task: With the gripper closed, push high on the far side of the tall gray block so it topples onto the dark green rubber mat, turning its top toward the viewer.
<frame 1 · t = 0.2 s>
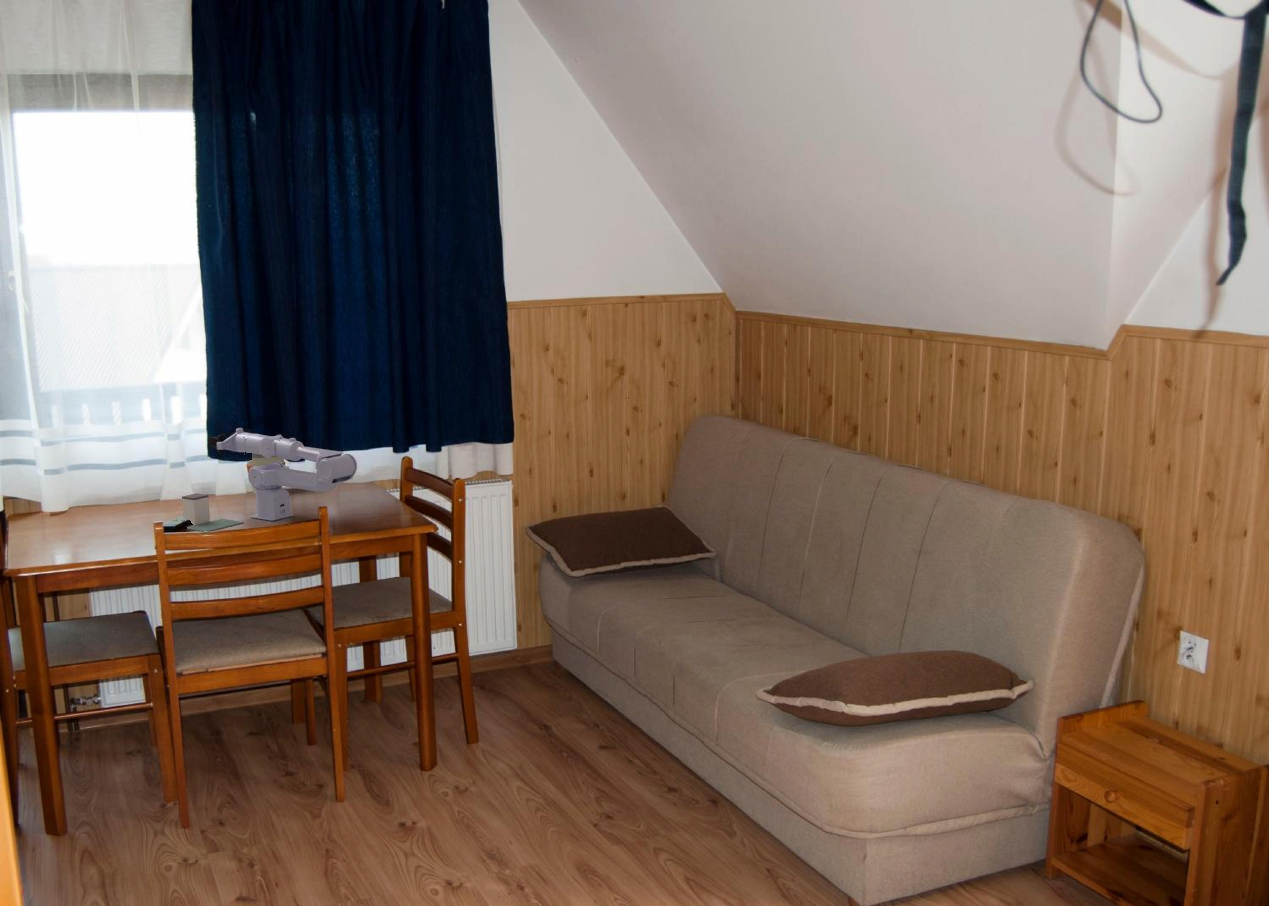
hand: (219, 438, 345), 22 cm above the table, tool horizontal, fingers open, 7 cm apart
gray block: (197, 523, 331), on the table
reusable coffee cup: (267, 492, 375), on the table
dice mat: (214, 525, 327), on the table
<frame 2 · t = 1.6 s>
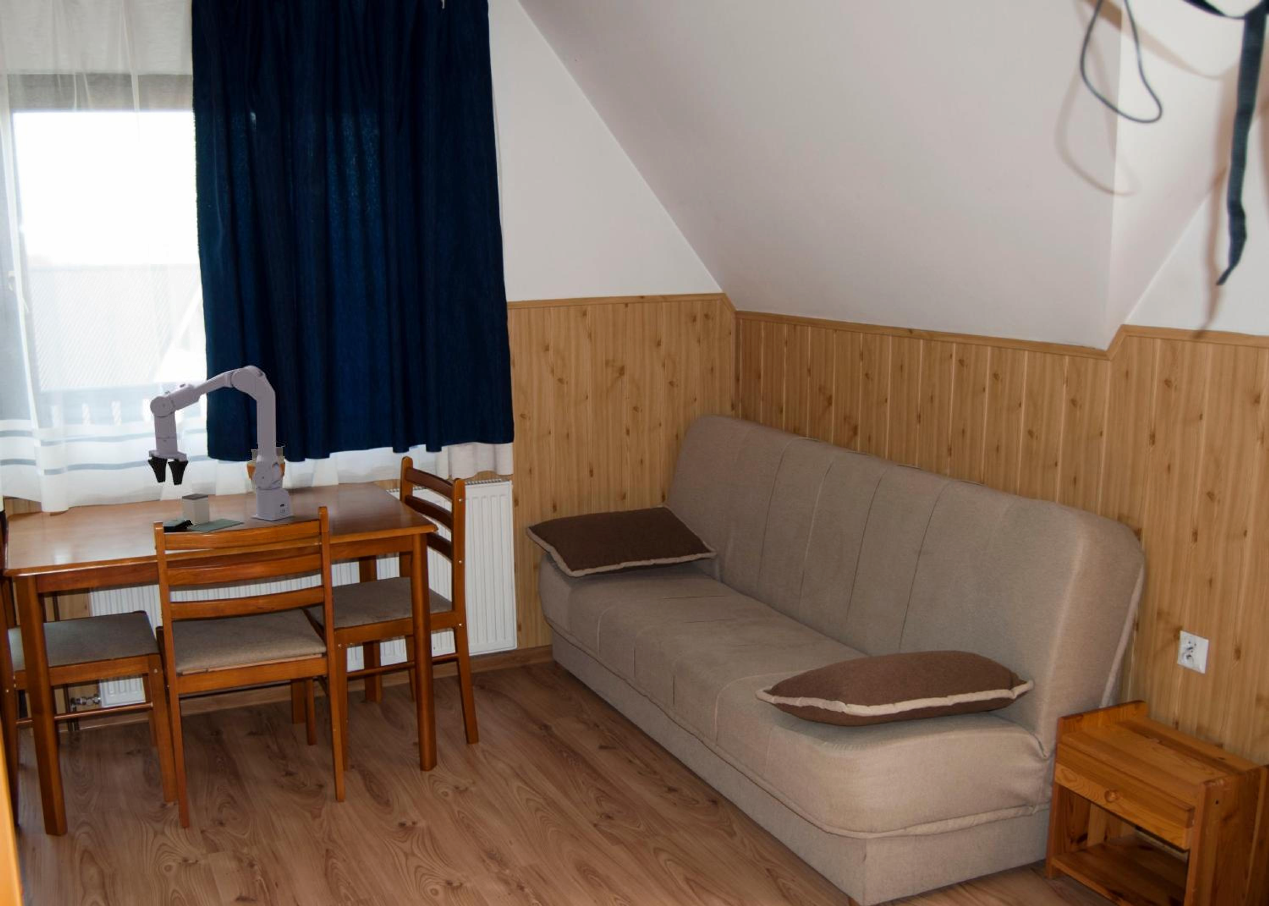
hand: (169, 483, 335), 10 cm above the table, tool pointing down, fingers open, 7 cm apart
nothing on the table moved.
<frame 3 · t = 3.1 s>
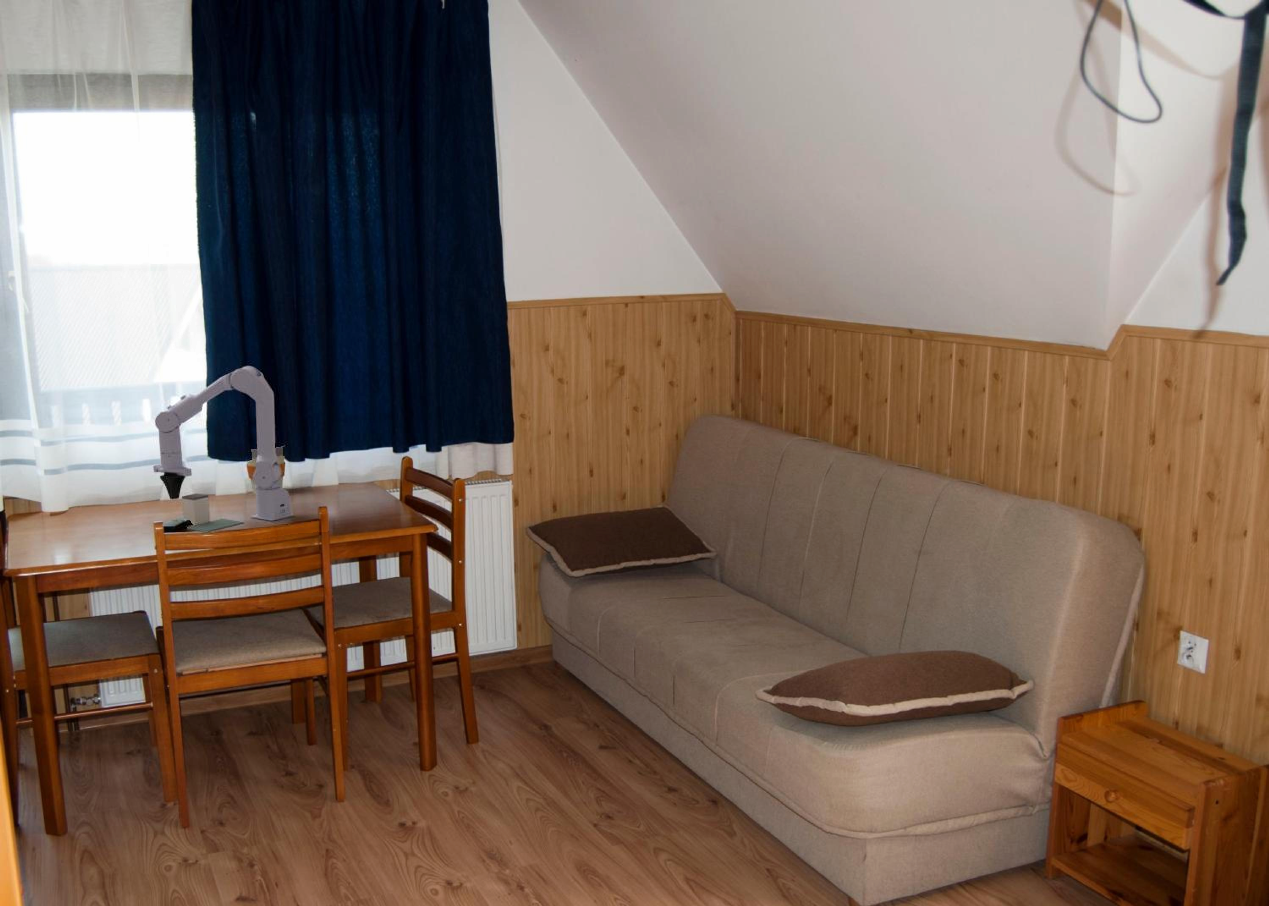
hand: (174, 498, 335), 6 cm above the table, tool pointing down, fingers closed
nothing on the table moved.
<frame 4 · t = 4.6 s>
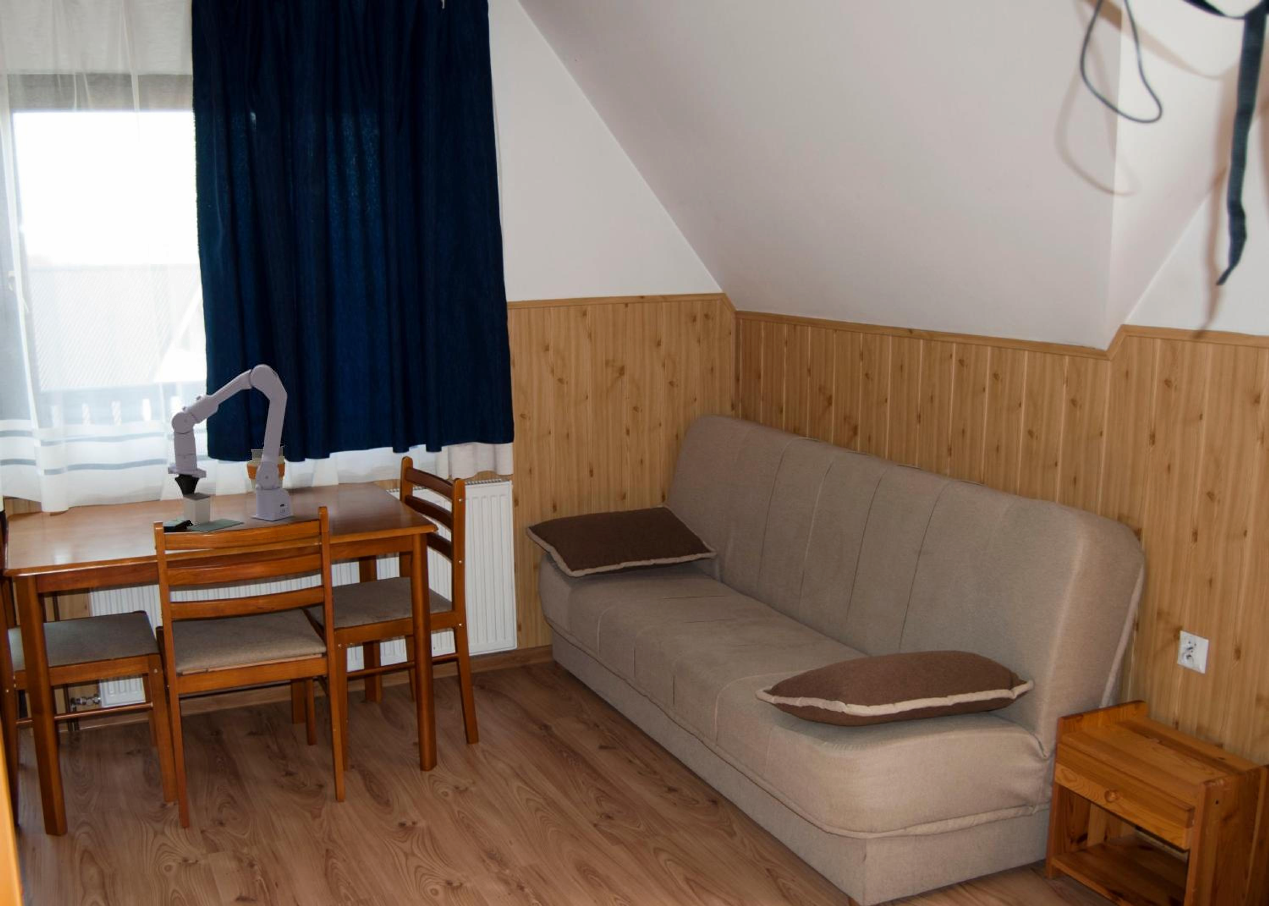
hand: (188, 500, 332), 6 cm above the table, tool pointing down, fingers closed
gray block: (197, 522, 331), on the table, tilted 6°, touching gripper
everything else where it was.
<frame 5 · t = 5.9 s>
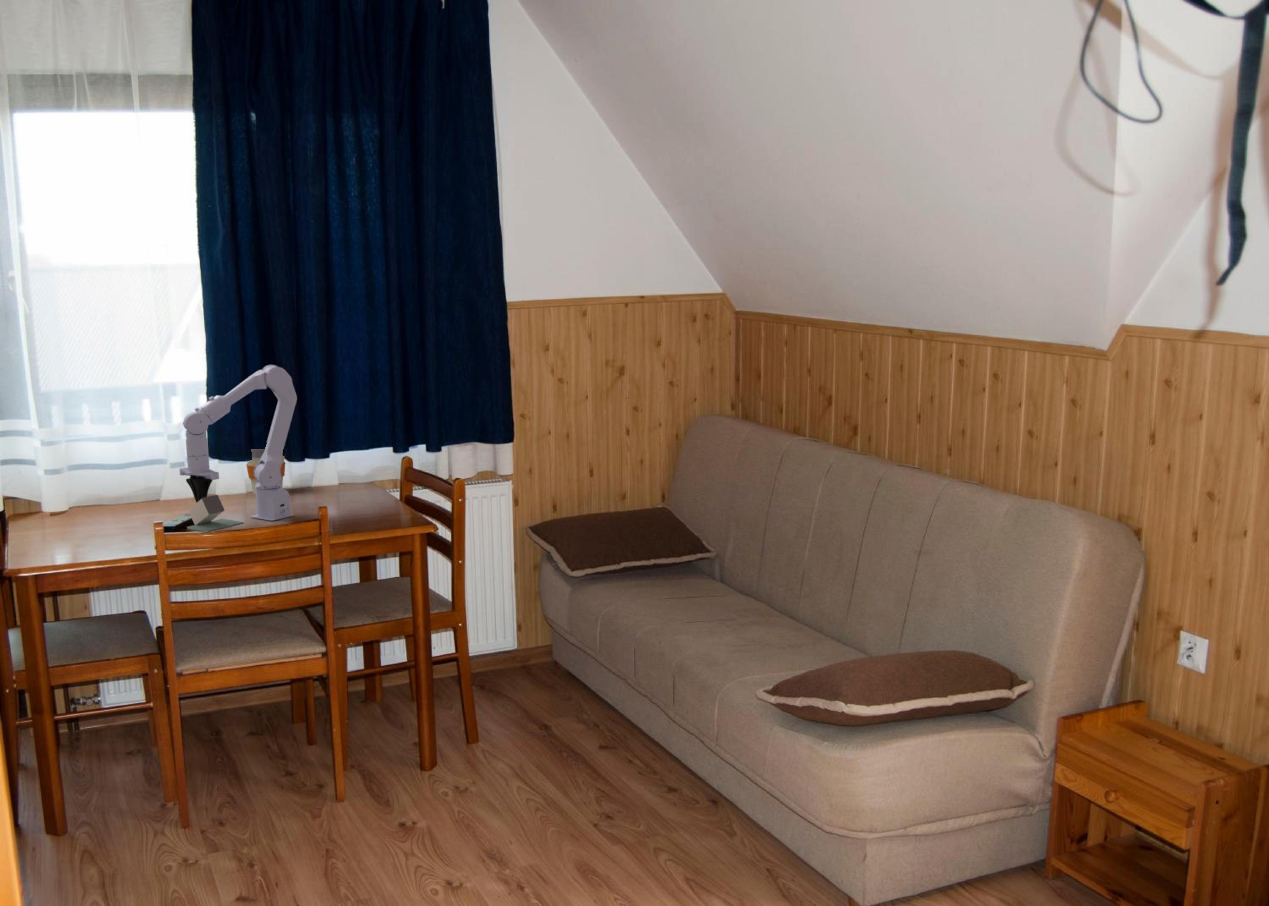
hand: (201, 502, 329), 6 cm above the table, tool pointing down, fingers closed
gray block: (199, 515, 330), point 2 cm above the table, tilted 58°, touching dice mat, gripper
everything else where it was.
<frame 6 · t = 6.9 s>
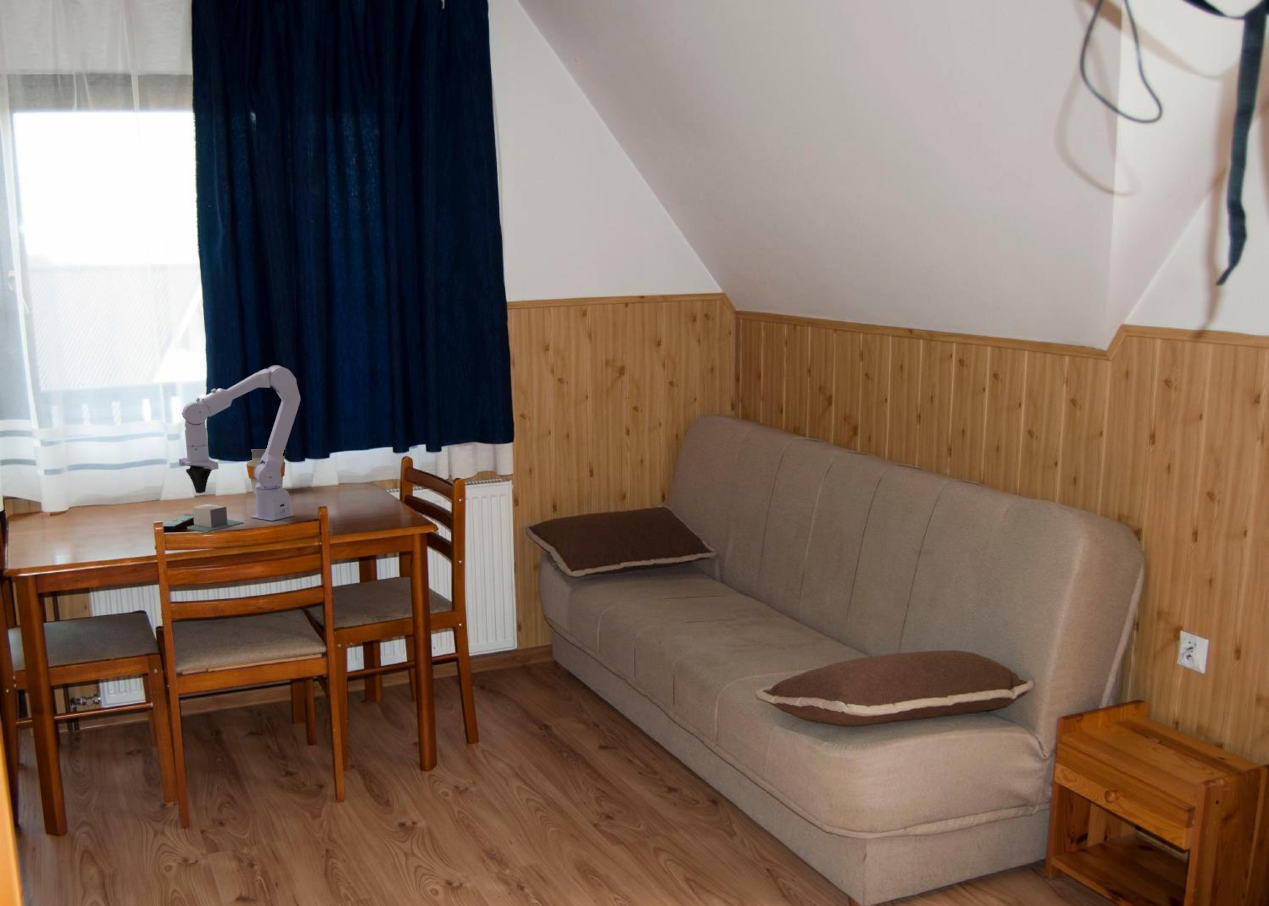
hand: (200, 492, 328), 9 cm above the table, tool pointing down, fingers closed
gray block: (200, 514, 330), point 3 cm above the table, tilted 90°, touching dice mat
everything else where it was.
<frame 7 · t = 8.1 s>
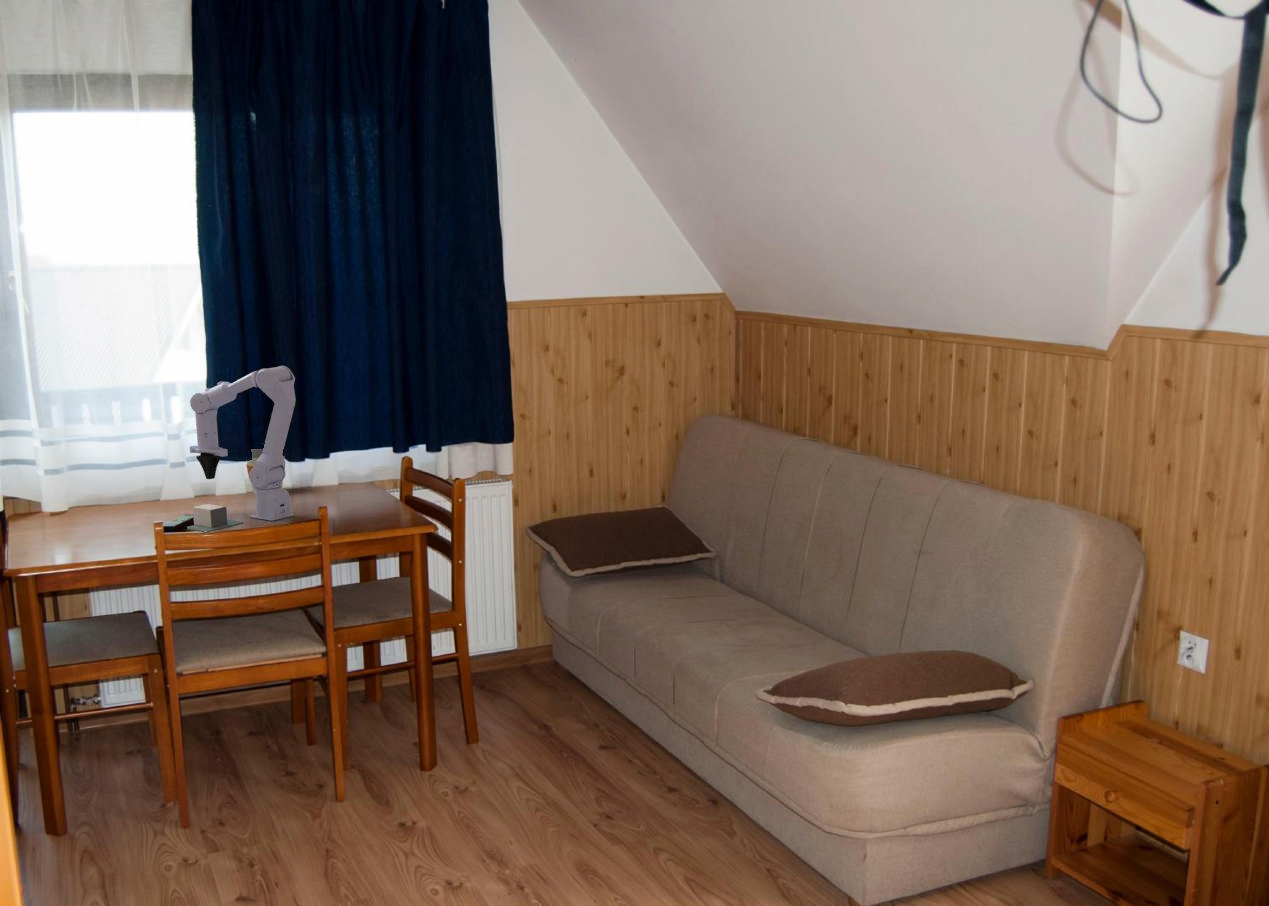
hand: (210, 478, 342), 10 cm above the table, tool pointing down, fingers closed
nothing on the table moved.
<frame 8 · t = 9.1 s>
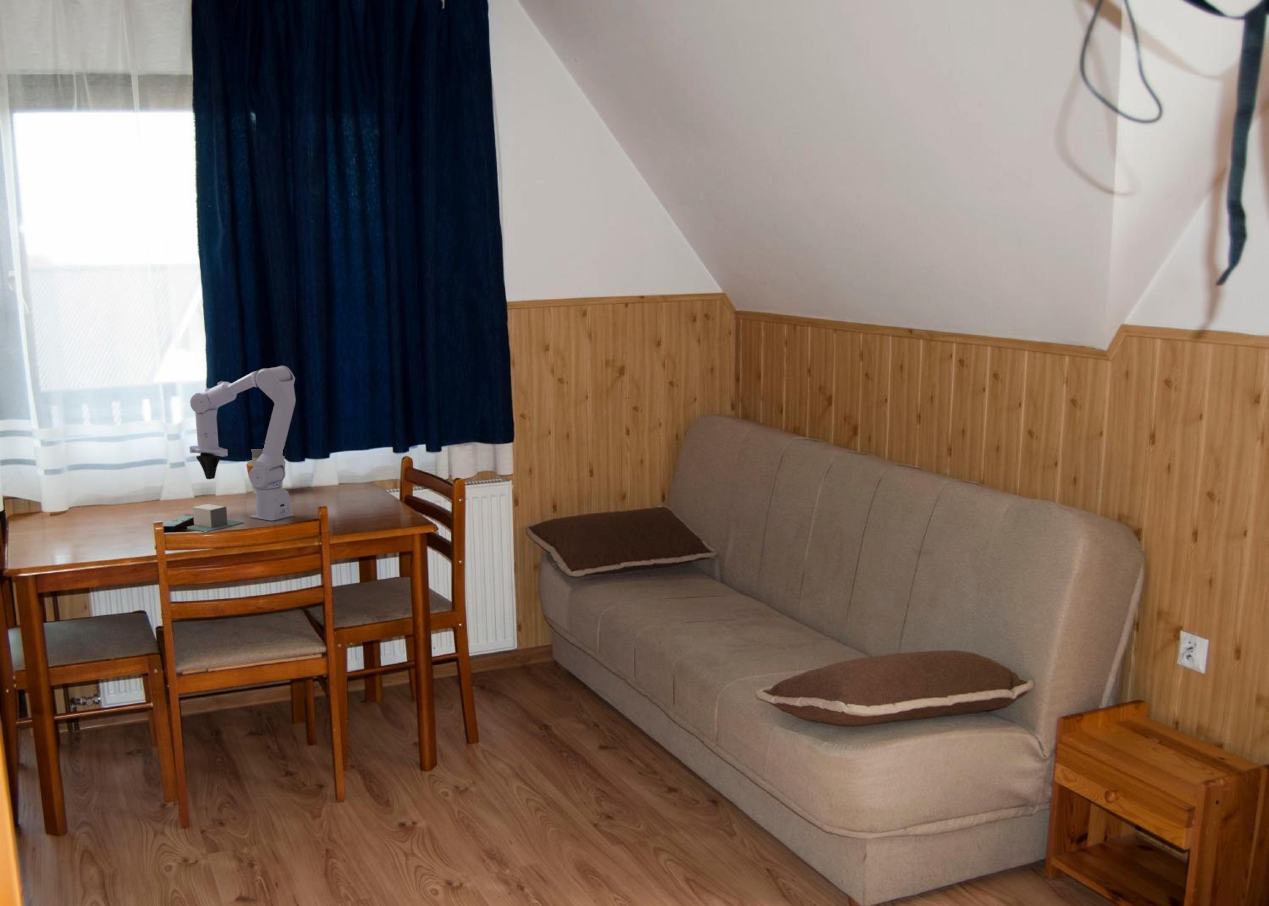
hand: (210, 478, 342), 10 cm above the table, tool pointing down, fingers closed
nothing on the table moved.
at the end: gray block tilted 90°; gray block inside the target area (1.0 cm from its centre), point 2.8 cm above the table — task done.
